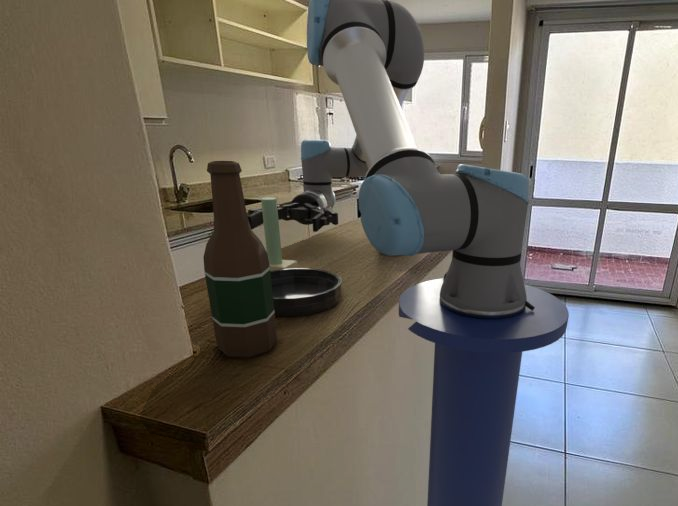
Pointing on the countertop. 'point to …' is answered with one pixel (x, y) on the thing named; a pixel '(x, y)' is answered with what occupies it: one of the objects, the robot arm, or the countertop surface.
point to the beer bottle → (237, 271)
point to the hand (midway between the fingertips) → (281, 224)
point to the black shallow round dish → (304, 291)
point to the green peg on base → (274, 236)
